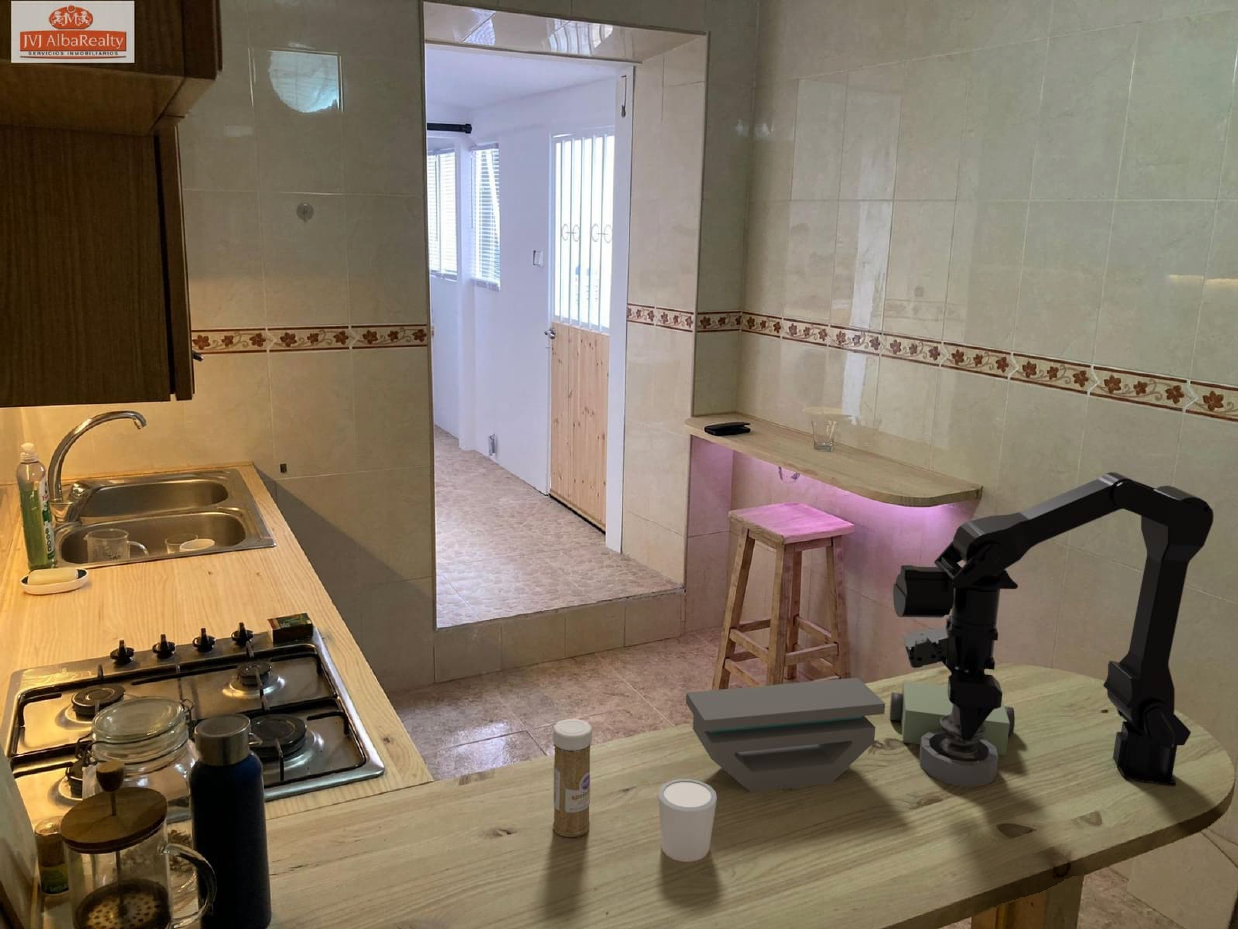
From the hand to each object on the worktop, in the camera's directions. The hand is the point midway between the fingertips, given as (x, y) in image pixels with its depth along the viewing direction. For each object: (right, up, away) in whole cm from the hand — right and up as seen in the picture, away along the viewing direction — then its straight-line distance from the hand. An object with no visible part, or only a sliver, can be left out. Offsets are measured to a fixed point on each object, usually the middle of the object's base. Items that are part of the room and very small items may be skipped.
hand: (962, 724), depth 131 cm
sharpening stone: (-25, -6, -1) cm, 26 cm away
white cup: (-39, -10, -18) cm, 44 cm away
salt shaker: (0, -4, +1) cm, 4 cm away
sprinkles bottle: (-53, -9, -14) cm, 55 cm away
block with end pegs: (+1, -5, +6) cm, 8 cm away
